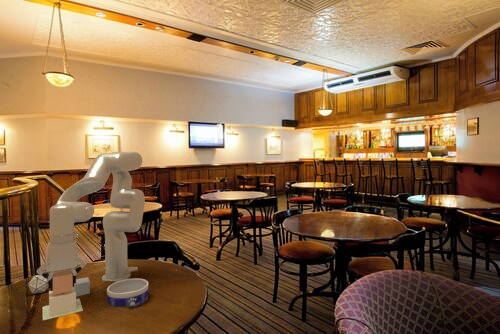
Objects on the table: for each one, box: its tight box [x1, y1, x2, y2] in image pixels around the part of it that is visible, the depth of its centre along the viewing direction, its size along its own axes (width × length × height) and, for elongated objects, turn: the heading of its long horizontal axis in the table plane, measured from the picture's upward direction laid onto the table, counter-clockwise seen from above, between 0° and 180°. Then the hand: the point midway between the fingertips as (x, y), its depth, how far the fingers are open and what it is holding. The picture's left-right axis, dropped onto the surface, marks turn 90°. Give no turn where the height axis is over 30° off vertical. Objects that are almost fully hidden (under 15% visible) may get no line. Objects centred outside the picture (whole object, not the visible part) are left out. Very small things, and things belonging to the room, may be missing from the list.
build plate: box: [42, 298, 84, 321], centre depth 111 cm, size 12×12×1 cm
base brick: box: [48, 287, 77, 316], centre depth 111 cm, size 8×8×6 cm
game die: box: [25, 272, 49, 296], centre depth 127 cm, size 9×8×10 cm
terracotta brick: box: [52, 269, 73, 295], centre depth 111 cm, size 6×6×6 cm
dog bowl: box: [106, 278, 149, 309], centre depth 120 cm, size 15×15×6 cm
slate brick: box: [74, 276, 91, 297], centre depth 125 cm, size 6×6×6 cm
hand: (62, 287), depth 111 cm, fingers closed on terracotta brick, 5 cm apart
